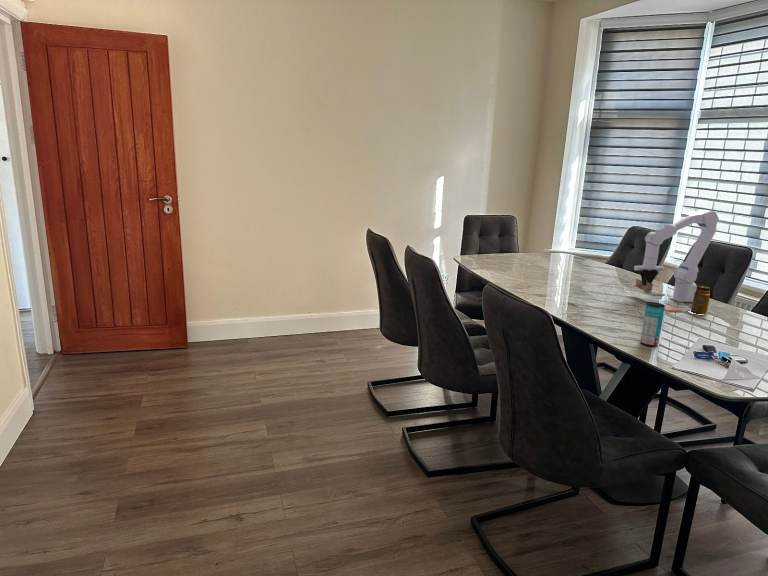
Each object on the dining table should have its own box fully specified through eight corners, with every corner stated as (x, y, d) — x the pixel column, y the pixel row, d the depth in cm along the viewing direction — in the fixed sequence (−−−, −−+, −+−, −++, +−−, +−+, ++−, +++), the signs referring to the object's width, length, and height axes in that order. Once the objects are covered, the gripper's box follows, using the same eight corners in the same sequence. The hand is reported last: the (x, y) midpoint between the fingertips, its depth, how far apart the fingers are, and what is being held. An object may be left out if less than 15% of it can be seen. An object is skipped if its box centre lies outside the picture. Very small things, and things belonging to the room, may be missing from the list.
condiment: (710, 314, 235) (715, 287, 232) (700, 316, 230) (706, 289, 227) (693, 309, 240) (698, 284, 238) (684, 312, 236) (688, 286, 233)
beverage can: (661, 347, 187) (668, 306, 184) (645, 347, 187) (652, 306, 183) (652, 341, 193) (658, 302, 189) (636, 341, 192) (643, 301, 189)
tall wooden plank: (631, 286, 262) (632, 278, 261) (642, 286, 263) (644, 278, 262) (652, 295, 246) (654, 287, 245) (664, 295, 247) (666, 287, 245)
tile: (671, 305, 243) (682, 310, 235) (670, 308, 243) (681, 313, 236) (656, 305, 242) (667, 310, 234) (656, 308, 243) (667, 312, 235)
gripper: (659, 256, 257) (654, 283, 260) (632, 255, 255) (627, 283, 258) (668, 258, 250) (664, 286, 253) (640, 258, 248) (636, 286, 251)
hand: (646, 285), depth 255 cm, fingers closed on tall wooden plank, 2 cm apart
